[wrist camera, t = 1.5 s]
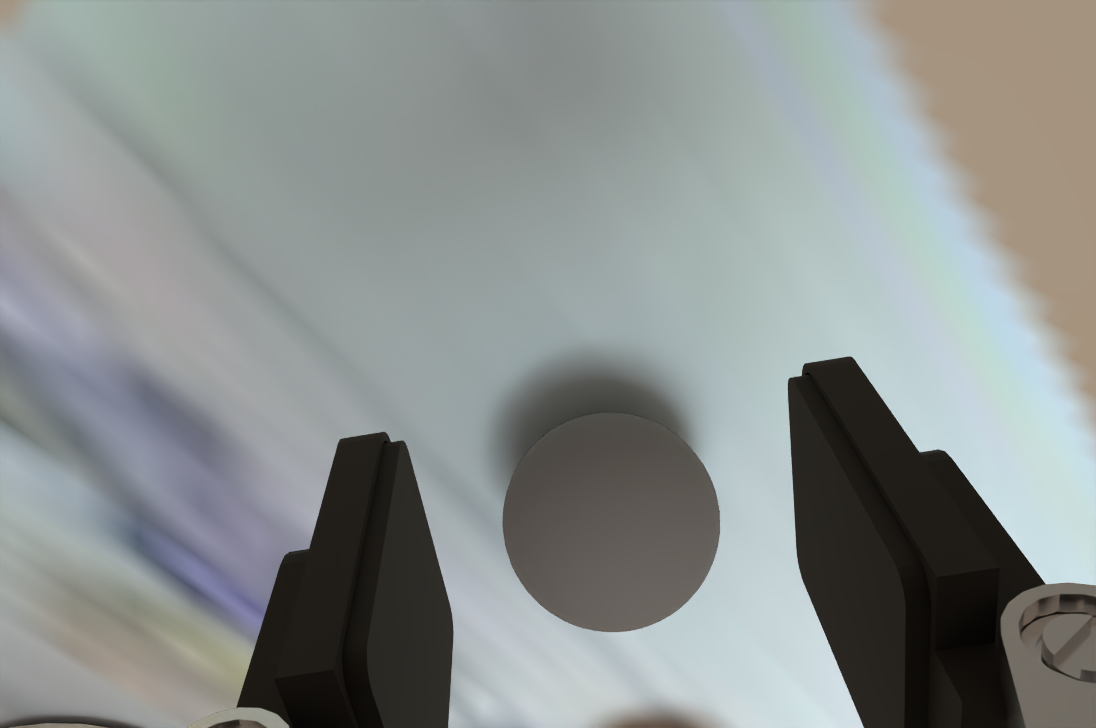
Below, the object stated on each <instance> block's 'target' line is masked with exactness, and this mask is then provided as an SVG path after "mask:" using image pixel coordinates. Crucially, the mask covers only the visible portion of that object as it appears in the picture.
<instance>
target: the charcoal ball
mask: <svg viewBox="0 0 1096 728" xmlns="http://www.w3.org/2000/svg"><path fill="white" fill-rule="evenodd" d="M503 533H504V540H505V546H506V550H507V553H508V556H509V559H510V562H511V565H512V567H513V569H514V571H515V573H516V575H517V577H518V578H519V580H520V581H521V583H522V584H523V586H524V587H525V589H526V590H527V591H528V592H529V594H530V595H531V596H532V597H533V598H534V599H535V600H536V601H537V602H538V603H539V604H540V605H541V606H543V607H544V608H545V609H546V610H547V611H549V612H550V613H552V614H554V615H555V616H557V617H559V618H560V619H562V620H564V621H566V622H568V623H570V624H572V625H575V626H578V627H581V628H585V629H590V630H594V631H603V632H623V631H631V630H636V629H640V628H643V627H646V626H649V625H652V624H654V623H656V622H659V621H661V620H663V619H664V618H666V617H668V616H670V615H671V614H673V613H674V612H676V611H677V610H678V609H680V608H681V607H682V606H683V605H684V604H685V603H686V602H687V601H688V600H689V599H690V598H691V597H692V596H693V595H694V594H695V592H696V591H697V590H698V589H699V588H700V586H701V584H702V583H703V581H704V580H705V578H706V576H707V574H708V572H709V570H710V568H711V566H712V564H713V561H714V558H715V554H716V551H717V547H718V541H719V534H720V511H719V506H718V500H717V496H716V492H715V489H714V486H713V483H712V481H711V478H710V476H709V474H708V472H707V470H706V469H705V467H704V465H703V463H702V462H701V461H700V459H699V458H698V457H697V455H696V454H695V453H694V451H693V450H692V449H691V448H690V447H689V446H688V445H687V444H686V443H685V442H684V441H683V440H682V439H681V438H679V437H678V436H677V435H676V434H674V433H673V432H671V431H670V430H669V429H667V428H665V427H664V426H662V425H660V424H658V423H656V422H653V421H651V420H648V419H646V418H643V417H639V416H635V415H631V414H625V413H615V412H604V413H595V414H589V415H585V416H581V417H578V418H575V419H572V420H569V421H567V422H565V423H563V424H561V425H559V426H557V427H556V428H554V429H552V430H551V431H549V432H548V433H547V434H545V435H544V436H543V437H542V438H540V439H539V440H538V441H537V442H536V443H535V444H534V445H533V446H532V447H531V448H530V449H529V450H528V452H527V453H526V454H525V456H524V457H523V458H522V460H521V461H520V463H519V464H518V466H517V468H516V470H515V472H514V474H513V475H512V478H511V481H510V484H509V487H508V490H507V493H506V496H505V502H504V509H503Z"/></svg>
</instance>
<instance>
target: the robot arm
mask: <svg viewBox="0 0 1096 728" xmlns="http://www.w3.org/2000/svg"><path fill="white" fill-rule="evenodd" d="M788 402H789V420H790V438H791V457H792V475H793V493H794V512H795V530H796V548H797V558H798V564H799V569H800V573H801V576H802V579H803V582H804V585H805V587H806V589H807V592H808V594H809V597H810V599H811V601H812V604H813V606H814V609H815V611H816V613H817V616H818V618H819V621H820V623H821V625H822V628H823V630H824V633H825V635H826V637H827V640H828V642H829V645H830V647H831V649H832V652H833V654H834V657H835V659H836V661H837V664H838V666H839V669H840V671H841V673H842V676H843V678H844V681H845V683H846V685H847V688H848V690H849V693H850V695H851V697H852V700H853V702H854V705H855V707H856V709H857V712H858V714H859V717H860V719H861V721H862V724H863V726H864V728H1096V586H1095V585H1086V584H1076V583H1058V584H1047V585H1046V584H1045V583H1044V581H1043V580H1042V579H1041V577H1040V576H1039V575H1038V573H1037V572H1036V571H1035V569H1034V568H1033V566H1032V565H1031V564H1030V562H1029V561H1028V560H1027V558H1026V557H1025V556H1024V554H1023V553H1022V552H1021V550H1020V549H1019V548H1018V546H1017V545H1016V544H1015V542H1014V541H1013V540H1012V538H1011V537H1010V536H1009V534H1008V533H1007V532H1006V530H1005V529H1004V528H1003V526H1002V525H1001V524H1000V522H999V521H998V520H997V518H996V517H995V516H994V514H993V513H992V512H991V510H990V509H989V508H988V506H987V505H986V504H985V502H984V501H983V500H982V498H981V497H980V496H979V494H978V493H977V492H976V490H975V489H974V487H973V486H972V485H971V483H970V482H969V481H968V479H967V478H966V477H965V475H964V474H963V473H962V471H961V470H960V469H959V467H958V466H957V465H956V463H955V462H954V461H953V459H952V458H951V457H950V456H949V455H948V454H947V453H946V452H945V451H942V450H933V451H926V452H920V453H919V451H918V450H917V448H916V447H915V445H914V444H913V443H912V441H911V440H910V438H909V437H908V435H907V434H906V433H905V431H904V430H903V428H902V427H901V425H900V424H899V423H898V421H897V420H896V418H895V417H894V415H893V414H892V413H891V411H890V410H889V408H888V407H887V405H886V404H885V403H884V401H883V400H882V398H881V397H880V395H879V394H878V393H877V391H876V390H875V388H874V387H873V385H872V384H871V383H870V381H869V380H868V378H867V377H866V375H865V374H864V373H863V371H862V370H861V368H860V367H859V365H858V364H857V363H856V361H855V360H854V359H853V358H852V357H843V358H837V359H831V360H825V361H818V362H812V363H806V364H804V366H803V370H802V376H799V377H793V378H789V380H788ZM452 650H453V620H452V613H451V608H450V603H449V600H448V596H447V592H446V589H445V585H444V581H443V577H442V574H441V570H440V566H439V563H438V559H437V555H436V552H435V548H434V544H433V540H432V537H431V533H430V529H429V526H428V522H427V518H426V514H425V511H424V507H423V503H422V500H421V496H420V492H419V488H418V485H417V481H416V477H415V474H414V470H413V466H412V463H411V459H410V455H409V451H408V448H407V446H406V443H405V442H404V441H396V442H391V441H390V438H389V436H388V434H387V433H386V432H380V433H374V434H368V435H361V436H355V437H349V438H343V439H340V441H339V443H338V446H337V449H336V453H335V457H334V460H333V464H332V468H331V471H330V475H329V479H328V482H327V486H326V490H325V493H324V497H323V500H322V504H321V508H320V511H319V515H318V519H317V522H316V526H315V530H314V533H313V537H312V541H311V544H310V548H309V549H306V550H300V551H294V552H289V553H288V554H286V555H285V556H284V558H283V560H282V562H281V565H280V568H279V571H278V574H277V578H276V581H275V584H274V587H273V591H272V594H271V597H270V600H269V604H268V607H267V610H266V613H265V617H264V620H263V623H262V626H261V630H260V633H259V636H258V639H257V643H256V646H255V649H254V652H253V655H252V659H251V662H250V665H249V668H248V672H247V675H246V678H245V681H244V685H243V688H242V691H241V694H240V698H239V701H238V704H237V707H236V708H235V709H230V710H226V711H221V712H217V713H215V714H212V715H210V716H208V717H206V718H203V719H201V720H199V721H197V722H194V723H193V724H192V725H190V726H189V727H187V728H448V718H449V701H450V684H451V667H452ZM10 728H108V727H101V726H94V725H88V724H69V723H43V724H35V725H26V726H18V727H10Z"/></svg>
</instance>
